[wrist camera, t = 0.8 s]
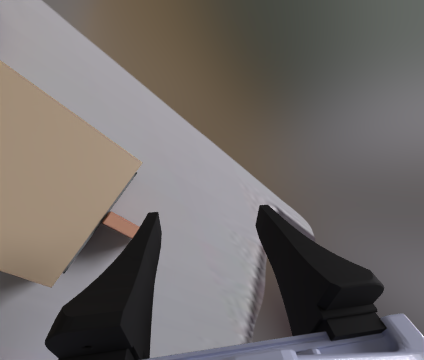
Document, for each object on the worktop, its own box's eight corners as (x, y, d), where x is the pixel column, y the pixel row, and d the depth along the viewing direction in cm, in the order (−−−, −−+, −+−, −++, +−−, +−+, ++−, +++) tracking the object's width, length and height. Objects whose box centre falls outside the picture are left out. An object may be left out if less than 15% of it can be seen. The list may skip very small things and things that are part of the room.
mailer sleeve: (-173, 189, 13) (-278, 178, 9) (-4, 79, 19) (-24, 43, 15) (55, 272, 19) (51, 287, 15) (131, 170, 25) (142, 162, 21)
